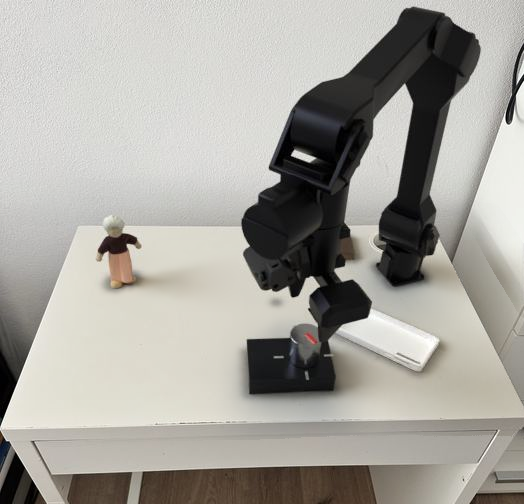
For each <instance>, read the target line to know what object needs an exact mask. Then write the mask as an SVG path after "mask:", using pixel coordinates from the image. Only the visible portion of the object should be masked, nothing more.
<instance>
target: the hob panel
mask: <svg viewBox="0 0 524 504" xmlns="http://www.w3.org/2000/svg"><path fill="white" fill-rule="evenodd" d="M289 342H290V337H271V338H269V337H268V338H246V365H247V382H248V394H249V395H259V394H286V393H309V392H311V393H313V392H333V391H334V388H335V384H336V379H337V375H336V370H335V367H334V362H333V358H334V357H335V356H334V354H333V353H332V352H331V348H330V343H329V340H328V341H325V342H322V343H321V349H320V356H319V361H318V362H317V364H316V365H314V366H312V367H309V368H301V367H297V366H295V365H294V364H292V363H291V362H290V360H289V357H288V355H289Z"/></svg>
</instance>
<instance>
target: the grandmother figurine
mask: <svg viewBox="0 0 524 504" xmlns="http://www.w3.org/2000/svg"><path fill="white" fill-rule="evenodd" d="M125 224H126V223H125V221H124V220H123V219H122V218H120V216H118V215H115V214H114V215H113V214H111V215H108V216H107V217H105V218H103V221H102V227H103V230H104V231H105V232H106V233H107V236H105V237H104V238H103V240H102V242H101V243H100V245H99V246H98V248H97V252H96V257H95V261H96V262H98V263H101V262H102V261H103V257H104V255H105V254H106V253H107V258H108V259H107V261H108V270H109V274H110V287H111V288H112V289H119V288H121V287H122V286H123V283H124V284H127V285H128V284H134V283H135V282H136V281H137V278H136V276H135V275H133V271H134V270H133V263H132V258H131V254H130V253H131V252H130V249H129V248H128V245H131V246H132V245H133V246H134V248H135V249H136V250H140V249H142V247H143V246H142V243H140V241H139V239H138V237H137V236H135V235H134V234H133V235H132V234H130V233H125V232H124V228H125Z"/></svg>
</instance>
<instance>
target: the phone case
mask: <svg viewBox="0 0 524 504" xmlns="http://www.w3.org/2000/svg"><path fill="white" fill-rule="evenodd" d="M334 334H336V335H338V336H341V337H342V338H345V339H346V340H349V341H351V342H353V343H355V344H357V345H359V346H361V347H364V348H366V349H368V350H370V351H371V352H373V353H376V354H379V355H381V356H383V357H385V358H387V359H389V360H391V361H393V362H395V363H398V364H400V365H402V366H404V367H406V368H408V369H410V370H412V371H415V372H422V371H423V370H424V368H425V366H426V365H427V363H428V362H429V360H430V359H431V357H432V356H433V354H434V353H435V351H436V349H437V348H438V346H439V344H440V339H439V337H437V336H436V335H433V334H431V333H429V332H427V331H425V330H422V329H419V328H417V327H415V326H413V325H411V324H408V323H406V322H404V321H401V320H399V319H397V318H395V317H393V316H390V315H388V314H385V313H384V312H381V311H380V310H378V309H377V310H376V309H374V308H372V307H371V310H370V314H369V316H368V318H366V319H362V320H359V321H355V322H351V323H347V324H343V325H342V326H341V327H340V328H339V329H338V330H337V331H336V332H335V333H334Z"/></svg>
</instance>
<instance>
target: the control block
mask: <svg viewBox="0 0 524 504" xmlns="http://www.w3.org/2000/svg"><path fill="white" fill-rule="evenodd" d="M340 253H341V254H342V255H343V257H344V258H345V259H346V261H354V257H355V248H354V244H353V240H352V235H351V234H350V237H349V238H345V239H342V241H341V248H340Z"/></svg>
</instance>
